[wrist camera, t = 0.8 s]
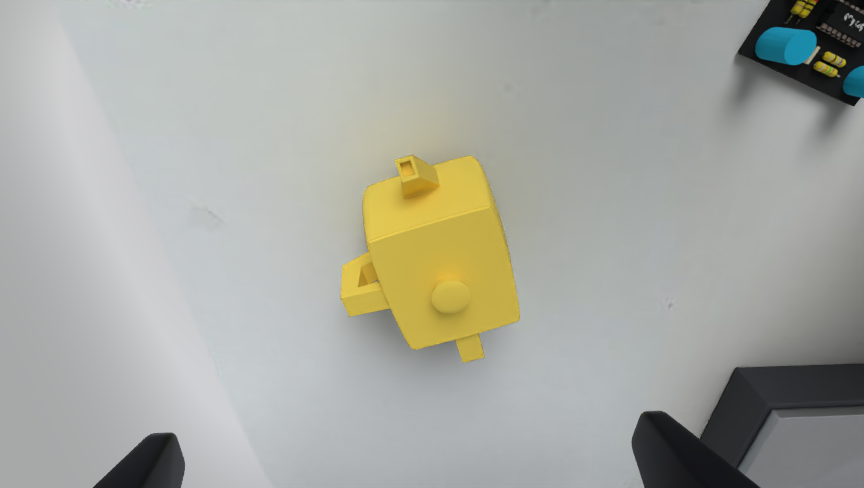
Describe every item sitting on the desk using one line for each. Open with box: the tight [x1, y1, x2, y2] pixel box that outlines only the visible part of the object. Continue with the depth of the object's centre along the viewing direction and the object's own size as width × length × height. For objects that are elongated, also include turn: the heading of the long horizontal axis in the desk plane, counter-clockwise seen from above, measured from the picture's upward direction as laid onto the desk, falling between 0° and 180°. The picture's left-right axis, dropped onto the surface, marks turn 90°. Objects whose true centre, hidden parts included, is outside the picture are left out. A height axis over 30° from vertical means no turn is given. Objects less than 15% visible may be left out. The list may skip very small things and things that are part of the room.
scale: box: [701, 364, 864, 488], centre depth 27 cm, size 11×9×3 cm
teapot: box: [341, 155, 520, 363], centre depth 17 cm, size 8×6×5 cm
